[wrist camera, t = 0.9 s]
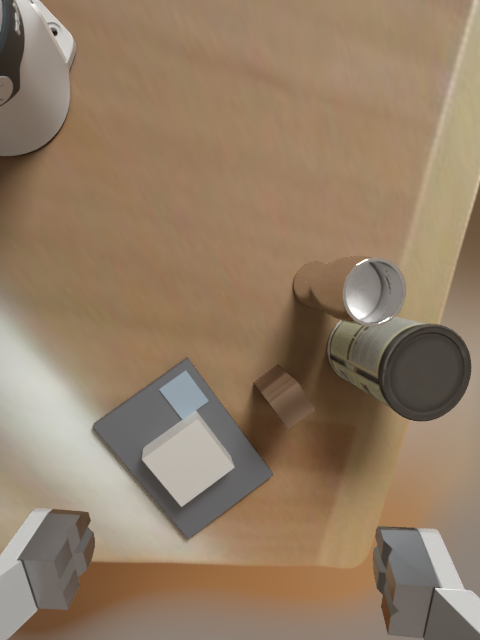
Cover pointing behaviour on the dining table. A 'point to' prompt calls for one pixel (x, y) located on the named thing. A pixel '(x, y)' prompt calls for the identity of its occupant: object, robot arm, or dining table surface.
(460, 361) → the coffee can
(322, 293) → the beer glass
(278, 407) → the walnut column
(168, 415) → the build base
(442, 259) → the dining table surface
